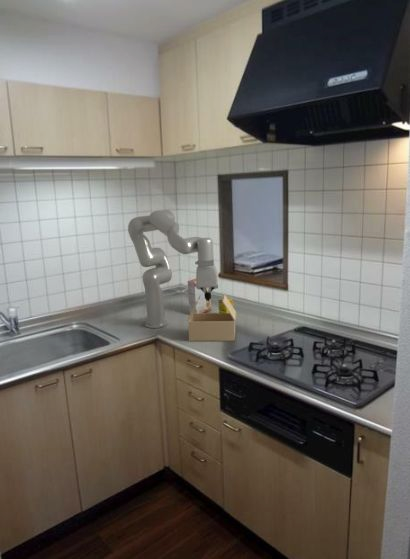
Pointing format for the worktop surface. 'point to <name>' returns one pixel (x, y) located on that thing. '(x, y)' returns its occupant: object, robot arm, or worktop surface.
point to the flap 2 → (229, 307)
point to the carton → (211, 327)
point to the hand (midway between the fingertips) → (208, 300)
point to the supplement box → (222, 307)
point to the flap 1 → (193, 308)
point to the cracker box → (193, 297)
